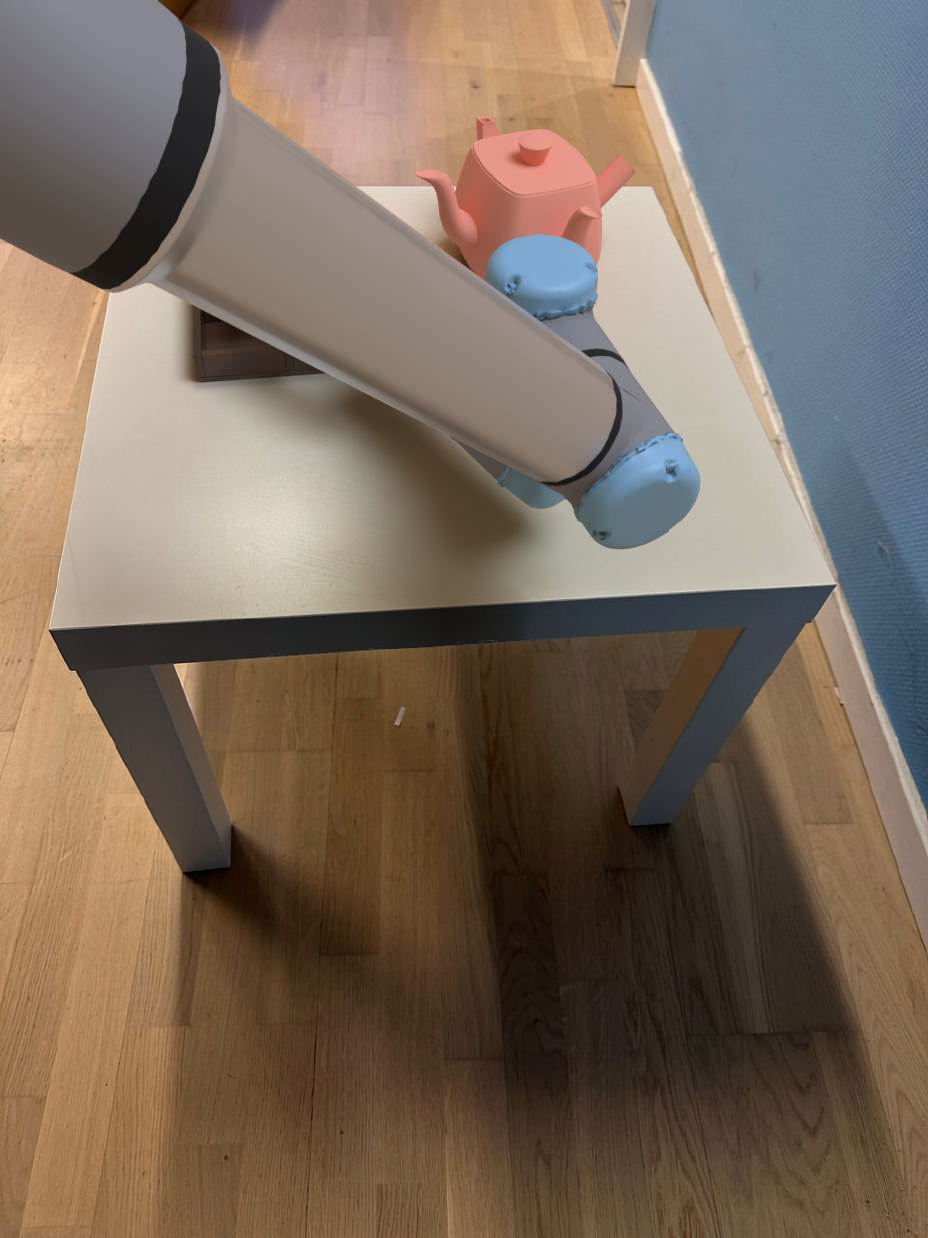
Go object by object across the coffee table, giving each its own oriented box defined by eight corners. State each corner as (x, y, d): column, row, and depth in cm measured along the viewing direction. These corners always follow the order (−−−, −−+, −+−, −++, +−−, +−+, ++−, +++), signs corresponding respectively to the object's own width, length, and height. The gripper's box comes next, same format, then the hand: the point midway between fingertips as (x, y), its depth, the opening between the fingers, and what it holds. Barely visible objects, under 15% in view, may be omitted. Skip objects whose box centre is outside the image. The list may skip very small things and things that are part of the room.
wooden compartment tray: (198, 382, 85) (192, 356, 82) (197, 274, 95) (191, 248, 92) (380, 368, 87) (380, 343, 85) (361, 264, 97) (360, 239, 95)
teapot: (578, 336, 92) (602, 208, 81) (412, 291, 95) (413, 161, 84) (622, 244, 102) (649, 119, 91) (471, 206, 105) (478, 80, 94)
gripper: (344, 454, 74) (205, 314, 83) (530, 360, 82) (384, 243, 92) (338, 382, 68) (189, 240, 77) (540, 288, 76) (382, 171, 85)
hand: (295, 242), depth 84 cm, fingers closed on perfume bottle, 8 cm apart
